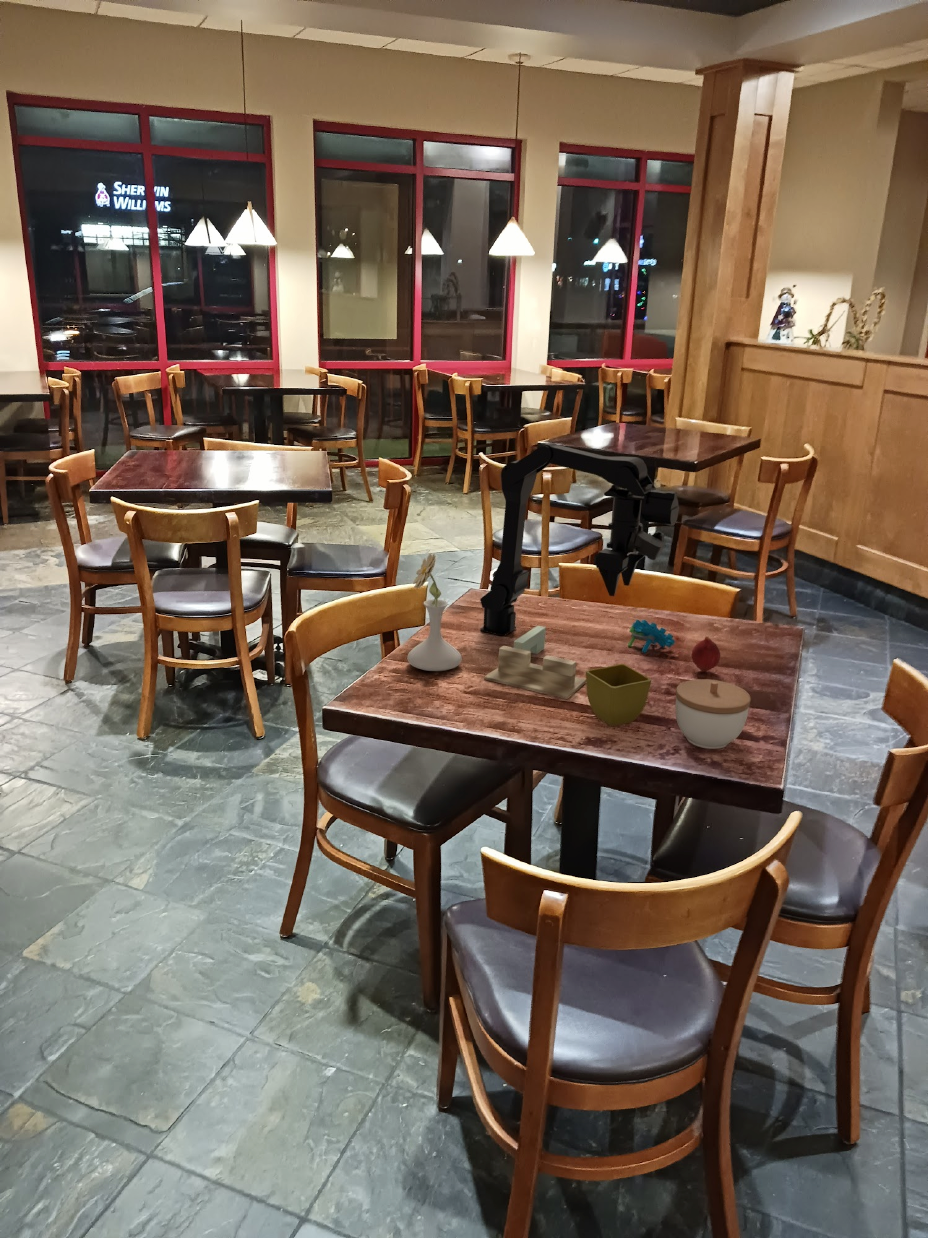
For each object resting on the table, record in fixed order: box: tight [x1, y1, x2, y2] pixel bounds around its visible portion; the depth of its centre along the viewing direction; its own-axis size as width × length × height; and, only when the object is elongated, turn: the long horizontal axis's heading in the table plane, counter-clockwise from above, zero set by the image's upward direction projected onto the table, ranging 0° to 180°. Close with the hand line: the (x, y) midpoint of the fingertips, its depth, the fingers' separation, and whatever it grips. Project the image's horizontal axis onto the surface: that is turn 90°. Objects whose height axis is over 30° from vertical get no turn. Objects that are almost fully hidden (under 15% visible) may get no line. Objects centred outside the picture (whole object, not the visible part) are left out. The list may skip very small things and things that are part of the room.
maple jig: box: [484, 645, 586, 700], centre depth 185 cm, size 18×10×6 cm, turn 61°
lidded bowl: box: [674, 678, 752, 750], centre depth 161 cm, size 13×13×11 cm
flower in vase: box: [406, 552, 463, 672], centre depth 187 cm, size 13×11×25 cm
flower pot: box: [585, 663, 652, 727], centre depth 168 cm, size 9×9×9 cm
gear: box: [627, 619, 676, 654], centre depth 204 cm, size 11×6×10 cm
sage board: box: [513, 625, 547, 655], centre depth 198 cm, size 2×12×5 cm, turn 151°
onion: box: [690, 634, 721, 673], centre depth 192 cm, size 6×6×8 cm
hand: (619, 590), depth 196 cm, fingers open, 9 cm apart
